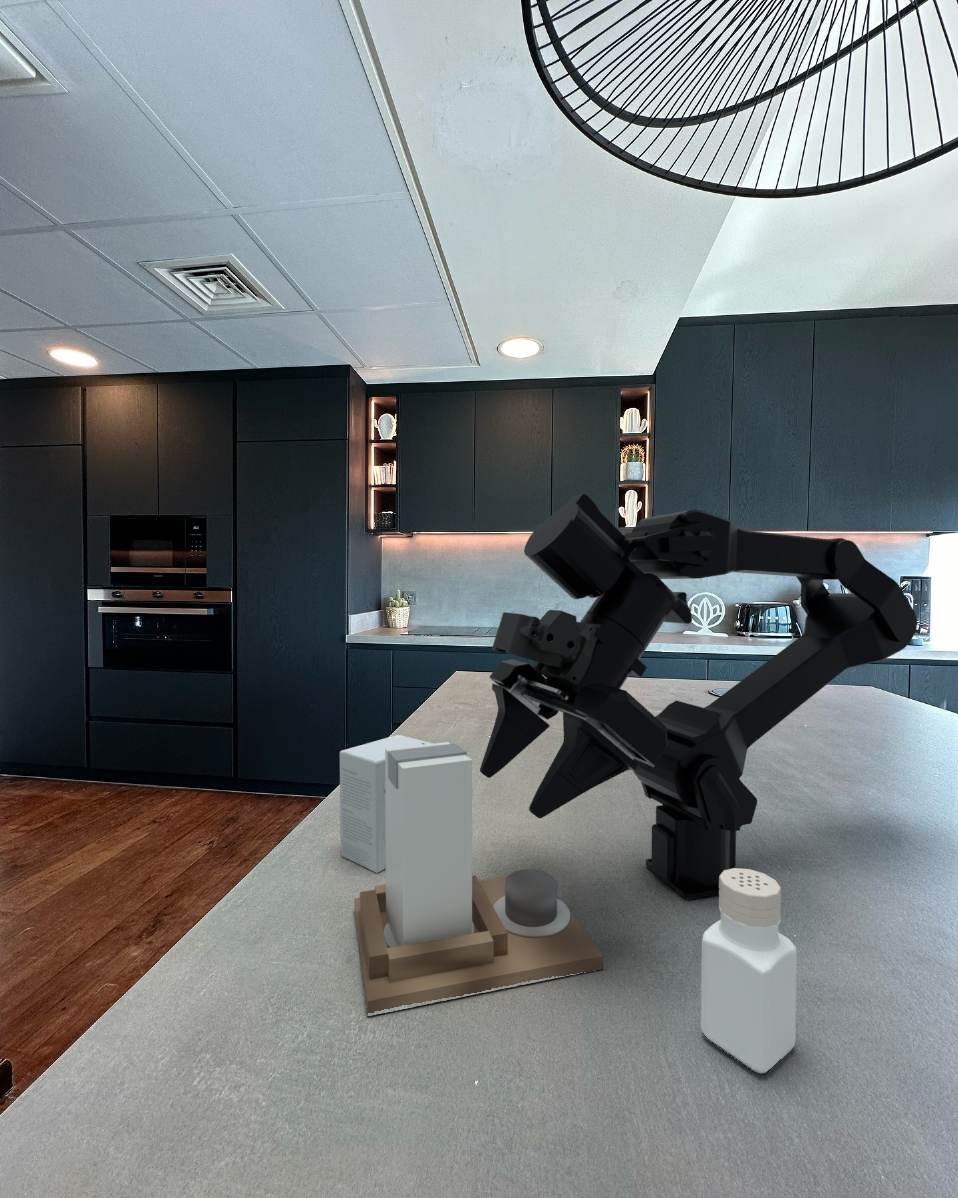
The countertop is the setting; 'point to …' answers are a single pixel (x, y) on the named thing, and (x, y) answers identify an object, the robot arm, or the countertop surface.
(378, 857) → the small box
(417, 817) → the tall white box
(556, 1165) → the countertop surface
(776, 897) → the salt shaker
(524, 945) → the wooden holder board
